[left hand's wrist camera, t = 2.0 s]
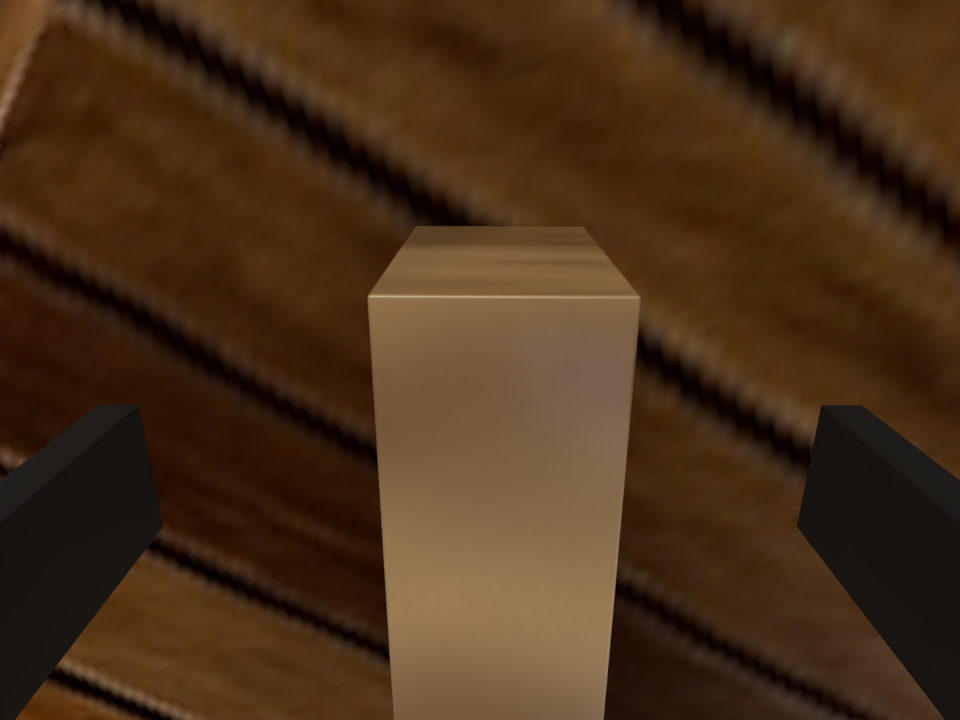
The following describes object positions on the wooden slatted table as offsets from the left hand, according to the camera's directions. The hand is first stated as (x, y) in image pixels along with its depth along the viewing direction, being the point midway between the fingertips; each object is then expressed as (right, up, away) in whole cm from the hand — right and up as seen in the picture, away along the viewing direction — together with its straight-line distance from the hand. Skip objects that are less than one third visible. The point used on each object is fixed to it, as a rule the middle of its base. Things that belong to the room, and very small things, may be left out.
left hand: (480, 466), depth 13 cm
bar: (+1, -5, +12) cm, 13 cm away
